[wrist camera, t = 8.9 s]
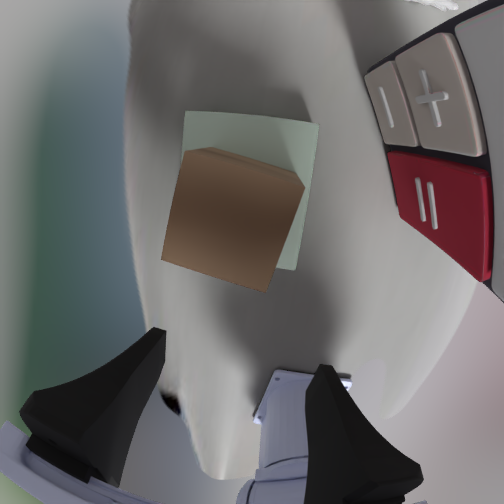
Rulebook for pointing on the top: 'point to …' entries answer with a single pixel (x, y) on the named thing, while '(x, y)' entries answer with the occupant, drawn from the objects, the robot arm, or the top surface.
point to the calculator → (450, 136)
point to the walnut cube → (231, 216)
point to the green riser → (261, 153)
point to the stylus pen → (439, 4)
